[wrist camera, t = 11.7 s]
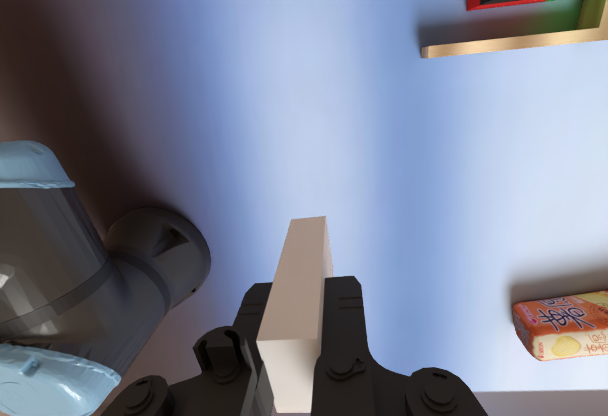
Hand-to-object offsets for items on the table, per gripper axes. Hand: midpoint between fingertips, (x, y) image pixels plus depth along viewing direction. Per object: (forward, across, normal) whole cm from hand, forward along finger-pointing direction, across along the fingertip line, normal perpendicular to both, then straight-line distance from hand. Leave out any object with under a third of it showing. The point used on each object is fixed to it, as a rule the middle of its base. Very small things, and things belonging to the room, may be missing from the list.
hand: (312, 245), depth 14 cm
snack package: (+25, +33, -27) cm, 49 cm away
